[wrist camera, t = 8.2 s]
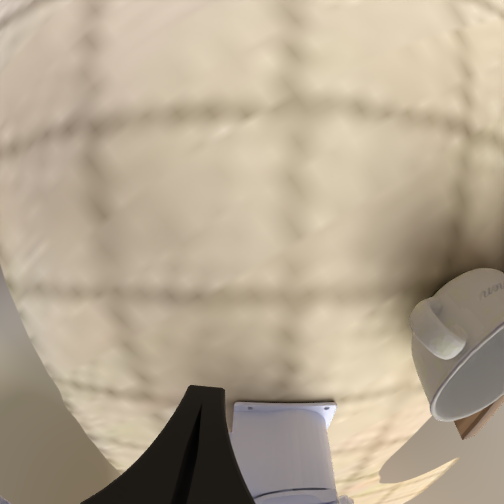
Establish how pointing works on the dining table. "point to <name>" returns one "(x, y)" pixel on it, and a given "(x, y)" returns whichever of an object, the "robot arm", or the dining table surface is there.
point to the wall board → (477, 420)
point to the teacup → (461, 344)
